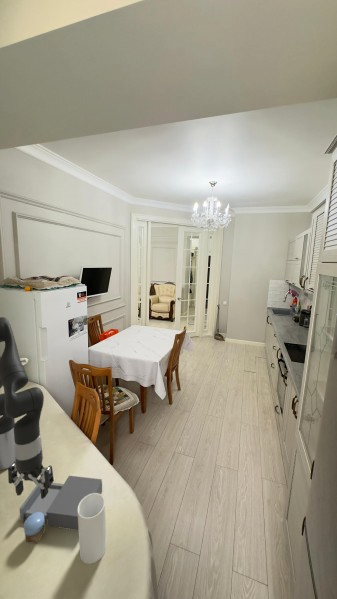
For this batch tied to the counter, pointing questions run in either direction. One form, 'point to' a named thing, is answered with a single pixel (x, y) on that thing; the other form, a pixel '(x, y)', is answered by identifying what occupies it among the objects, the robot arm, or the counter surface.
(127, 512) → the counter surface
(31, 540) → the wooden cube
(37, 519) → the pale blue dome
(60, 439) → the counter surface
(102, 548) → the cup
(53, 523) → the housing
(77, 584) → the counter surface
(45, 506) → the tray
